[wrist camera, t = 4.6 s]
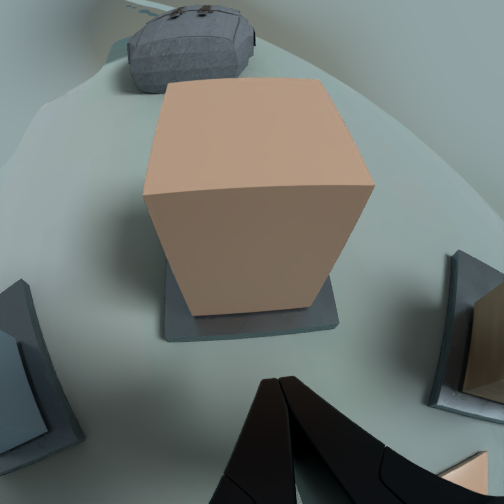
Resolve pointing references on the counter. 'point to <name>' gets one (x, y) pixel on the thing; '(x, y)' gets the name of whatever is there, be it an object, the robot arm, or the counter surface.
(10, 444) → the blue-grey rectangular block
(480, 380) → the brown wooden block
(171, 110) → the tan block
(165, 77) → the small grey backpack
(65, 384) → the counter surface
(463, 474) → the card
